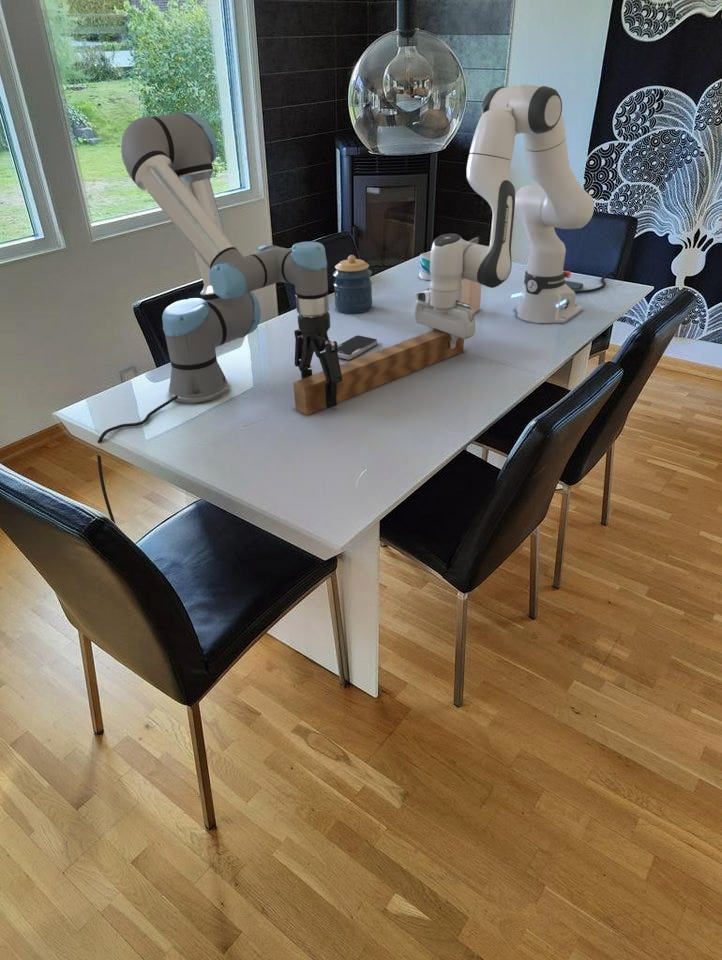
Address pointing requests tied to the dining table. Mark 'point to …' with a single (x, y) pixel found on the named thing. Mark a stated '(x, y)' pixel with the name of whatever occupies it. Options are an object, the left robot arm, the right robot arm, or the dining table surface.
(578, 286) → the smartphone
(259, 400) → the dining table surface
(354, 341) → the smartphone
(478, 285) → the soap dispenser
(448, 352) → the post
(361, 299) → the canister
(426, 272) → the mug
